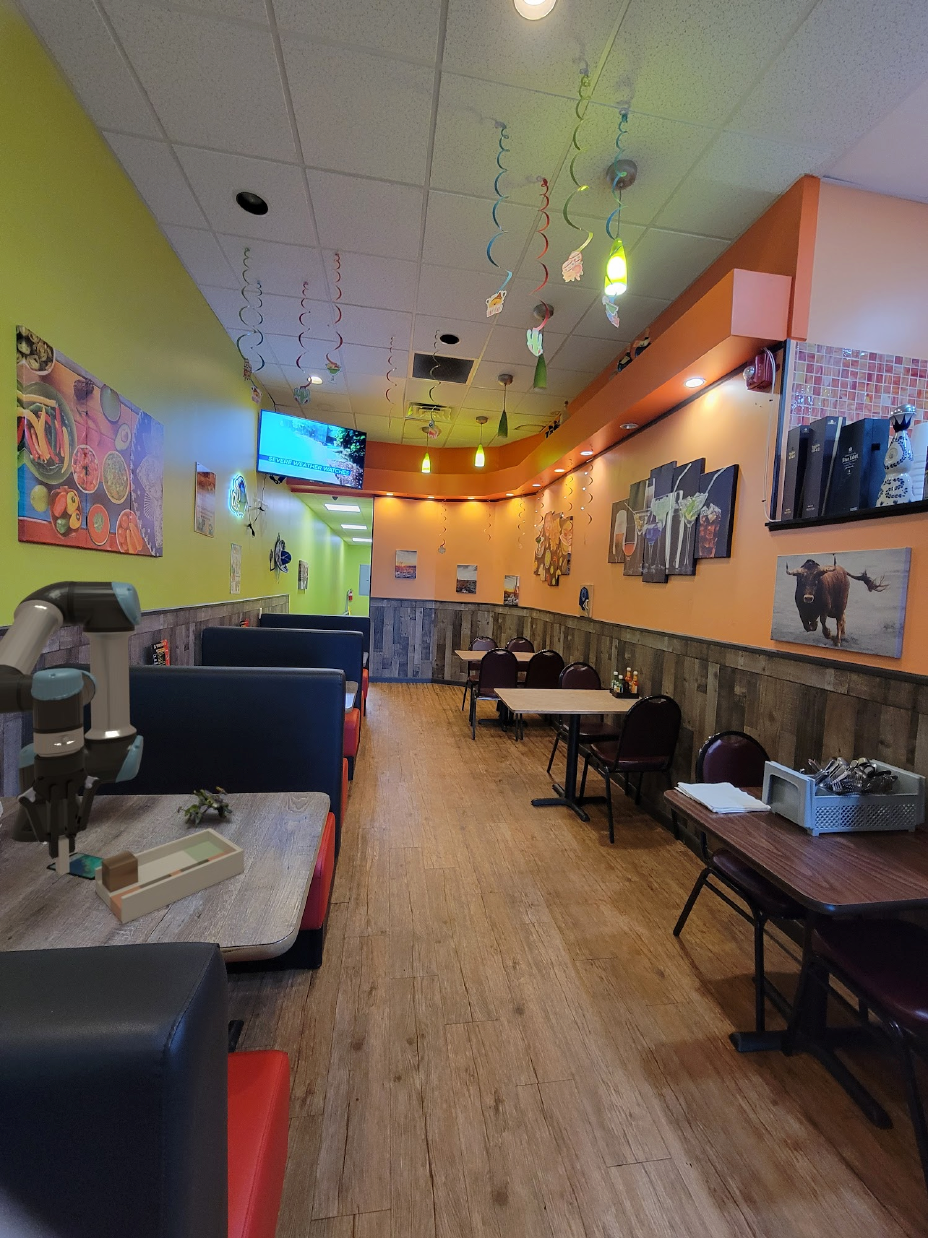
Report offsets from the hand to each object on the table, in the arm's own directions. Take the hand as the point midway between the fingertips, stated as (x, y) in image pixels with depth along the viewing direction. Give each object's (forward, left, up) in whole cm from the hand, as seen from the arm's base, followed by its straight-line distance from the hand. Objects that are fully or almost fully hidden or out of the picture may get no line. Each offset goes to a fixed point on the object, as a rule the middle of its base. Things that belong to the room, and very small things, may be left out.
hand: (62, 871), depth 99 cm
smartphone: (-18, +8, -10) cm, 22 cm away
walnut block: (0, +10, -7) cm, 12 cm away
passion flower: (-19, +36, -10) cm, 42 cm away
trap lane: (+3, +19, -9) cm, 21 cm away
